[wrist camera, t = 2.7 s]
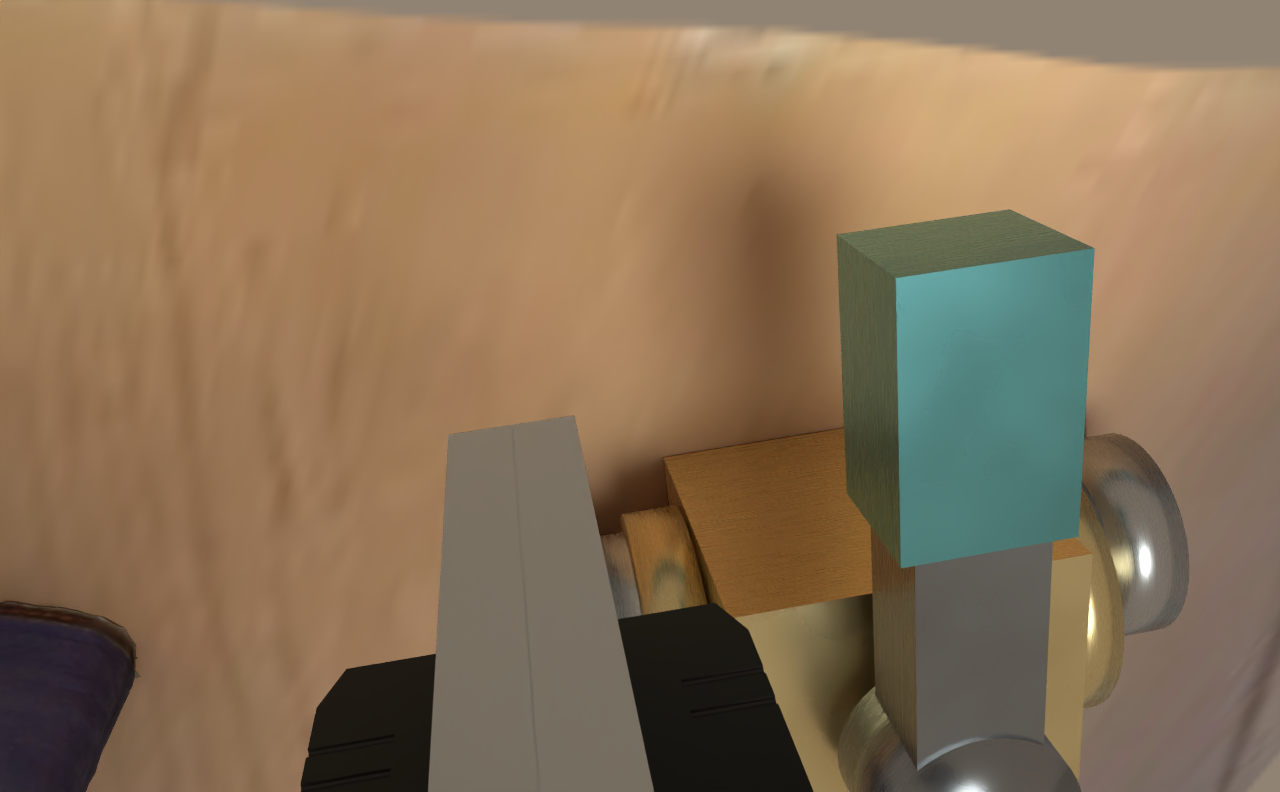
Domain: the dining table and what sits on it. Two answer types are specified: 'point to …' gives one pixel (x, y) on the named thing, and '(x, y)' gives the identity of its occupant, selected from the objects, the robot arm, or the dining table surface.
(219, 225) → the dining table surface
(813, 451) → the pipe valve
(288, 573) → the dining table surface
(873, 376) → the lever
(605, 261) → the dining table surface
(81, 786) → the flask
